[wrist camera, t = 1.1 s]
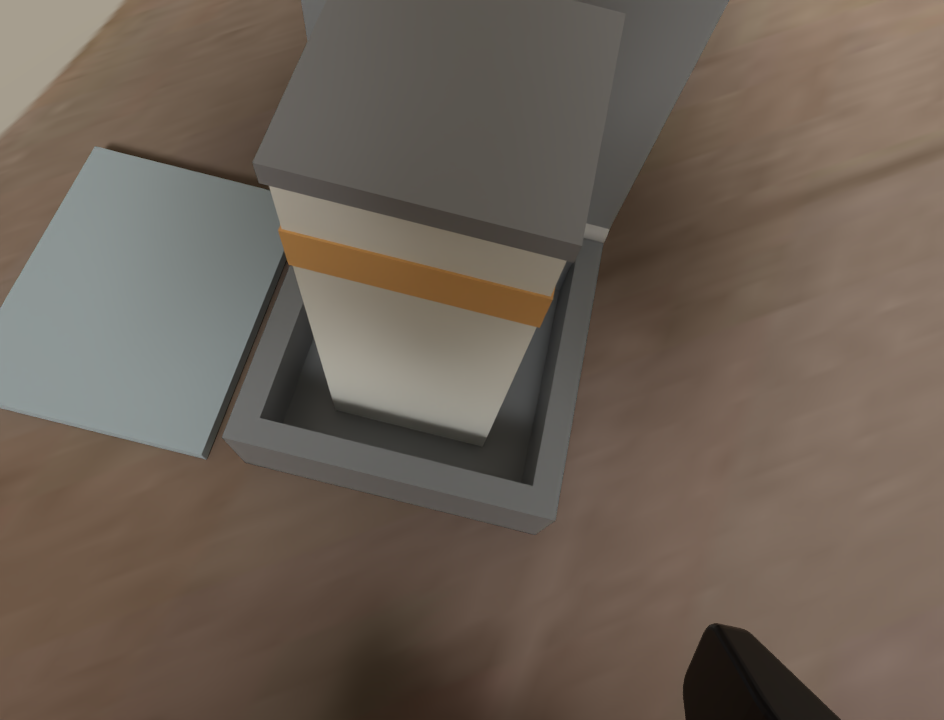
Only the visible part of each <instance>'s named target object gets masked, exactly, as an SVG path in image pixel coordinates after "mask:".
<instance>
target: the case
mask: <svg viewBox="0 0 944 720" xmlns="http://www.w3.org/2000/svg"><path fill="white" fill-rule="evenodd" d="M575 1H578V2H582V3H586V4H590V5H594V6H598V7H602V8H606V9H610V10H614V11H618V12H622V13H626V15H625V20H624V26H623V31H622V36H621V42H620V47H619V52H618V57H617V63H616V68H615V73H614V79H613V84H612V89H611V95H610V100H609V105H608V110H607V116H606V121H605V126H604V132H603V137H602V142H601V147H600V153H599V158H598V163H597V169H596V174H595V179H594V185H593V190H592V195H591V200H590V206H589V211H588V216H587V222H586V227H585V232H584V238H583V243H582V247H581V249H580V251H579V253H578V255H577V257H576V259H575V262H574V263H573V262H569V261H566V264H565V266H564V268H563V270H562V272H561V275H560V277H559V279H558V281H557V283H556V286H555V291H554V296H553V300H552V302H551V305H550V307H549V309H548V311H547V313H546V315H545V317H544V320H543V322H542V324H541V326H540V328H538V327H537V328H536V330H535V332H534V334H533V337H532V339H531V341H530V343H529V345H528V348H527V350H526V352H525V354H524V356H523V359H522V361H521V363H520V365H519V367H518V370H517V372H516V374H515V376H514V378H513V381H512V383H511V385H510V387H509V390H508V392H507V394H506V396H505V398H504V401H503V403H502V405H501V407H500V409H499V412H498V414H497V416H496V418H495V420H494V423H493V425H492V427H491V429H490V432H489V434H488V436H487V438H486V440H485V443H484V445H483V447H481V446H477V445H473V444H469V443H465V442H461V441H457V440H453V439H449V438H445V437H441V436H437V435H433V434H429V433H425V432H421V431H417V430H413V429H409V428H405V427H401V426H397V425H393V424H389V423H385V422H381V421H377V420H373V419H369V418H365V417H361V416H357V415H353V414H349V413H345V412H341V411H337V410H335V407H334V403H333V400H332V397H331V393H330V390H329V387H328V383H327V380H326V377H325V373H324V370H323V366H322V363H321V360H320V356H319V353H318V350H317V346H316V343H315V340H314V336H313V333H312V329H311V326H310V323H309V319H308V316H307V313H306V309H305V306H304V302H303V299H302V296H301V292H300V289H299V286H298V282H297V279H296V276H295V272H294V269H293V266H292V265H290V266H289V269H288V271H287V274H286V277H285V279H284V282H283V284H282V287H281V289H280V292H279V294H278V297H277V299H276V302H275V304H274V307H273V309H272V312H271V314H270V317H269V319H268V322H267V325H266V327H265V330H264V332H263V335H262V337H261V340H260V342H259V345H258V347H257V350H256V352H255V355H254V357H253V360H252V362H251V365H250V367H249V370H248V373H247V375H246V378H245V380H244V383H243V385H242V388H241V390H240V393H239V395H238V398H237V400H236V403H235V405H234V408H233V410H232V413H231V416H230V418H229V421H228V423H227V426H226V428H225V431H224V433H223V436H222V438H223V439H224V440H225V441H226V442H227V444H228V445H229V446H230V447H231V448H232V449H233V450H234V451H235V452H236V453H237V454H238V455H239V456H240V457H241V459H242V460H243V461H244V462H245V463H249V464H253V465H257V466H261V467H265V468H269V469H273V470H277V471H281V472H285V473H289V474H293V475H297V476H301V477H305V478H309V479H313V480H317V481H321V482H325V483H329V484H333V485H337V486H341V487H345V488H349V489H353V490H357V491H361V492H365V493H369V494H373V495H377V496H381V497H385V498H389V499H393V500H397V501H401V502H405V503H409V504H413V505H417V506H421V507H425V508H429V509H433V510H437V511H441V512H445V513H449V514H453V515H457V516H461V517H465V518H469V519H473V520H477V521H481V522H485V523H490V524H494V525H498V526H502V527H506V528H510V529H514V530H518V531H522V532H526V533H530V534H534V535H535V534H537V533H538V532H540V531H541V530H543V529H544V528H546V527H547V526H548V525H550V524H551V523H553V522H554V521H555V520H556V514H557V508H558V502H559V497H560V491H561V485H562V479H563V474H564V468H565V462H566V456H567V451H568V445H569V439H570V433H571V427H572V422H573V416H574V410H575V404H576V399H577V393H578V387H579V381H580V376H581V370H582V364H583V358H584V353H585V347H586V341H587V335H588V329H589V324H590V318H591V312H592V306H593V301H594V295H595V289H596V283H597V278H598V272H599V266H600V260H601V255H602V249H603V243H604V242H605V240H606V238H607V235H608V232H609V229H610V227H611V225H612V223H613V221H614V219H615V218H616V216H617V214H618V212H619V210H620V208H621V206H622V204H623V202H624V200H625V198H626V197H627V195H628V193H629V191H630V189H631V187H632V185H633V183H634V181H635V179H636V177H637V176H638V174H639V172H640V170H641V168H642V166H643V164H644V162H645V160H646V158H647V156H648V155H649V153H650V151H651V149H652V147H653V145H654V143H655V141H656V139H657V137H658V135H659V133H660V132H661V130H662V128H663V126H664V124H665V122H666V120H667V118H668V116H669V114H670V112H671V111H672V109H673V107H674V105H675V103H676V101H677V99H678V97H679V95H680V93H681V91H682V90H683V88H684V86H685V84H686V82H687V80H688V78H689V76H690V74H691V72H692V70H693V69H694V67H695V65H696V63H697V61H698V59H699V57H700V55H701V53H702V51H703V49H704V48H705V46H706V44H707V42H708V40H709V38H710V36H711V34H712V32H713V30H714V28H715V27H716V25H717V23H718V21H719V19H720V17H721V15H722V13H723V11H724V9H725V7H726V5H727V4H728V2H729V0H575ZM325 2H326V0H301V3H302V9H303V15H304V22H305V28H306V34H307V41H308V40H309V37H310V35H311V33H312V31H313V29H314V26H315V24H316V22H317V20H318V18H319V15H320V13H321V11H322V9H323V7H324V4H325Z"/></svg>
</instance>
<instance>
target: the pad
mask: <svg viewBox="0 0 944 720" xmlns="http://www.w3.org/2000/svg"><path fill="white" fill-rule="evenodd" d="M279 227H280V222H279V218H278V215H277V212H276V208H275V205H274V201H273V198H272V195H271V191H270V190H266V189H263V188H259V187H255V186H251V185H247V184H243V183H239V182H235V181H231V180H227V179H223V178H219V177H215V176H211V175H207V174H203V173H199V172H195V171H191V170H187V169H183V168H179V167H175V166H171V165H167V164H163V163H159V162H155V161H151V160H148V159H144V158H140V157H136V156H132V155H128V154H124V153H120V152H116V151H112V150H108V149H104V148H100V147H96V146H95V147H94V149H93V151H92V152H91V154H90V156H89V157H88V159H87V161H86V163H85V164H84V166H83V168H82V169H81V171H80V173H79V175H78V176H77V178H76V180H75V181H74V183H73V185H72V187H71V188H70V190H69V192H68V193H67V195H66V197H65V198H64V200H63V202H62V204H61V205H60V207H59V209H58V210H57V212H56V214H55V216H54V217H53V219H52V221H51V222H50V224H49V226H48V228H47V229H46V231H45V233H44V234H43V236H42V238H41V239H40V241H39V243H38V245H37V246H36V248H35V250H34V251H33V253H32V255H31V257H30V258H29V260H28V262H27V263H26V265H25V267H24V269H23V270H22V272H21V274H20V275H19V277H18V279H17V280H16V282H15V284H14V286H13V287H12V289H11V291H10V292H9V294H8V296H7V298H6V299H5V301H4V303H3V304H2V306H1V308H0V408H2V409H6V410H10V411H14V412H18V413H22V414H26V415H30V416H34V417H38V418H42V419H46V420H50V421H54V422H58V423H62V424H66V425H70V426H74V427H78V428H82V429H86V430H90V431H94V432H98V433H102V434H106V435H111V436H115V437H119V438H123V439H127V440H131V441H135V442H139V443H143V444H147V445H151V446H155V447H159V448H163V449H167V450H171V451H175V452H179V453H183V454H187V455H191V456H195V457H199V458H203V459H207V457H208V455H209V452H210V450H211V447H212V445H213V442H214V440H215V437H216V435H217V432H218V430H219V427H220V425H221V422H222V420H223V417H224V415H225V412H226V410H227V407H228V405H229V402H230V400H231V397H232V395H233V392H234V390H235V387H236V385H237V382H238V380H239V377H240V375H241V372H242V370H243V367H244V365H245V362H246V360H247V357H248V355H249V352H250V350H251V347H252V345H253V342H254V340H255V337H256V335H257V332H258V330H259V327H260V325H261V322H262V320H263V317H264V315H265V312H266V310H267V307H268V305H269V302H270V300H271V297H272V295H273V292H274V290H275V287H276V285H277V282H278V280H279V277H280V275H281V272H282V270H283V267H284V265H285V262H286V260H287V258H286V255H285V252H284V248H283V245H282V242H281V239H280V235H279V232H278V229H279Z"/></svg>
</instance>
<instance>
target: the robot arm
mask: <svg viewBox="0 0 944 720" xmlns="http://www.w3.org/2000/svg"><path fill="white" fill-rule="evenodd" d="M683 700H684V709H685V718H686V720H841V719H840V718H839V717H838V716H837V715H836V714H835V713H834V712H832V711H831V710H830V709H829V708H828V707H827V706H826V705H825V704H824V703H823V702H822V701H821V700H820V699H819V698H818V697H817V696H816V695H815V694H814V693H813V692H812V691H811V690H810V689H808V688H807V687H806V686H805V685H804V684H803V683H802V682H801V681H800V680H799V679H798V678H797V677H796V676H795V675H794V674H793V673H792V672H791V671H790V670H789V669H788V668H787V667H786V666H784V665H783V664H782V663H781V662H780V661H779V660H778V659H777V658H776V657H775V656H774V655H773V654H772V653H771V652H770V651H769V650H768V649H767V648H766V647H765V646H764V645H763V644H761V643H760V642H759V641H758V640H757V639H756V638H755V637H754V636H753V635H752V634H751V633H750V632H748V631H747V630H745V629H742V628H737V627H732V626H728V625H723V624H718V623H714V624H711V625H709V626H708V627H707V628H706V630H705V631H704V633H703V635H702V637H701V640H700V642H699V644H698V647H697V649H696V651H695V653H694V656H693V658H692V660H691V663H690V665H689V667H688V669H687V672H686V675H685V678H684V684H683Z"/></svg>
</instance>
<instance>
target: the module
mask: <svg viewBox="0 0 944 720" xmlns="http://www.w3.org/2000/svg"><path fill="white" fill-rule="evenodd" d="M625 15H626V13H622V12H618V11H614V10H610V9H606V8H602V7H598V6H594V5H590V4H586V3H582V2H578V1H575V0H326V2H325V4H324V7H323V9H322V11H321V13H320V15H319V18H318V20H317V22H316V24H315V26H314V29H313V31H312V33H311V35H310V37H309V40H308V42H307V44H306V46H305V48H304V51H303V53H302V55H301V57H300V59H299V61H298V64H297V66H296V68H295V70H294V72H293V75H292V77H291V79H290V81H289V83H288V86H287V88H286V90H285V92H284V94H283V97H282V99H281V101H280V103H279V105H278V108H277V110H276V112H275V114H274V116H273V118H272V121H271V123H270V125H269V127H268V129H267V132H266V134H265V136H264V138H263V140H262V143H261V145H260V147H259V149H258V151H257V154H256V156H255V158H254V160H253V162H252V163H253V166H254V170H255V173H256V176H257V179H258V182H259V183H260V184H264V185H268V186H269V188H270V191H271V195H272V198H273V201H274V205H275V208H276V212H277V215H278V218H279V222H280V227H279V229H278V232H279V235H280V239H281V242H282V245H283V248H284V252H285V255H286V258H287V261H288V265H292V266H293V269H294V272H295V276H296V279H297V282H298V286H299V289H300V292H301V296H302V299H303V302H304V306H305V309H306V313H307V316H308V319H309V323H310V326H311V329H312V333H313V336H314V340H315V343H316V346H317V350H318V353H319V356H320V360H321V363H322V366H323V370H324V373H325V377H326V380H327V383H328V387H329V390H330V393H331V397H332V400H333V403H334V407H335V410H337V411H341V412H345V413H349V414H353V415H357V416H361V417H365V418H369V419H373V420H377V421H381V422H385V423H389V424H393V425H397V426H401V427H405V428H409V429H413V430H417V431H421V432H425V433H429V434H433V435H437V436H441V437H445V438H449V439H453V440H457V441H461V442H465V443H469V444H473V445H477V446H481V447H483V445H484V443H485V440H486V438H487V436H488V434H489V432H490V429H491V427H492V425H493V423H494V420H495V418H496V416H497V414H498V412H499V409H500V407H501V405H502V403H503V401H504V398H505V396H506V394H507V392H508V390H509V387H510V385H511V383H512V381H513V378H514V376H515V374H516V372H517V370H518V367H519V365H520V363H521V361H522V359H523V356H524V354H525V352H526V350H527V348H528V345H529V343H530V341H531V339H532V337H533V334H534V332H535V330H536V328H537V327H538V328H540V326H541V324H542V322H543V320H544V317H545V315H546V313H547V311H548V309H549V307H550V305H551V302H552V300H553V296H554V291H555V286H556V283H557V281H558V279H559V277H560V275H561V272H562V270H563V268H564V266H565V264H566V261H569V262H573V263H574V262H575V259H576V257H577V255H578V253H579V251H580V249H581V247H582V243H583V238H584V232H585V227H586V222H587V216H588V211H589V206H590V200H591V195H592V190H593V185H594V179H595V174H596V169H597V163H598V158H599V153H600V147H601V142H602V137H603V132H604V126H605V121H606V116H607V110H608V105H609V100H610V95H611V89H612V84H613V79H614V73H615V68H616V63H617V57H618V52H619V47H620V42H621V36H622V31H623V26H624V20H625Z"/></svg>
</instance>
